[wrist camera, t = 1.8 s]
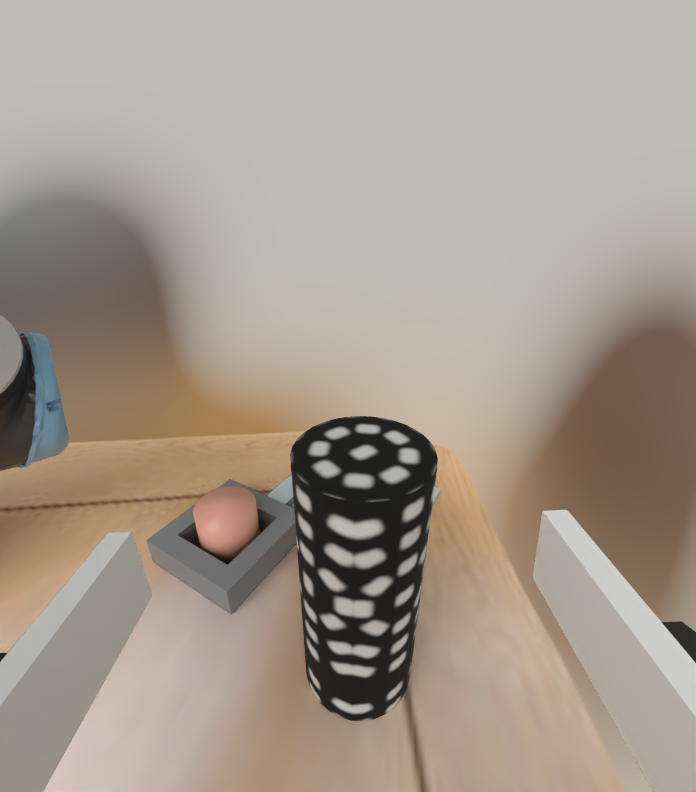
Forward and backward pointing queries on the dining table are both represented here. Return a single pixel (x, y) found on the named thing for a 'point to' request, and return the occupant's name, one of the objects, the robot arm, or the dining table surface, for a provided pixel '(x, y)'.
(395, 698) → the white-spotted black cylinder
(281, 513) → the button housing
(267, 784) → the dining table surface
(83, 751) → the dining table surface
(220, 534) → the button
